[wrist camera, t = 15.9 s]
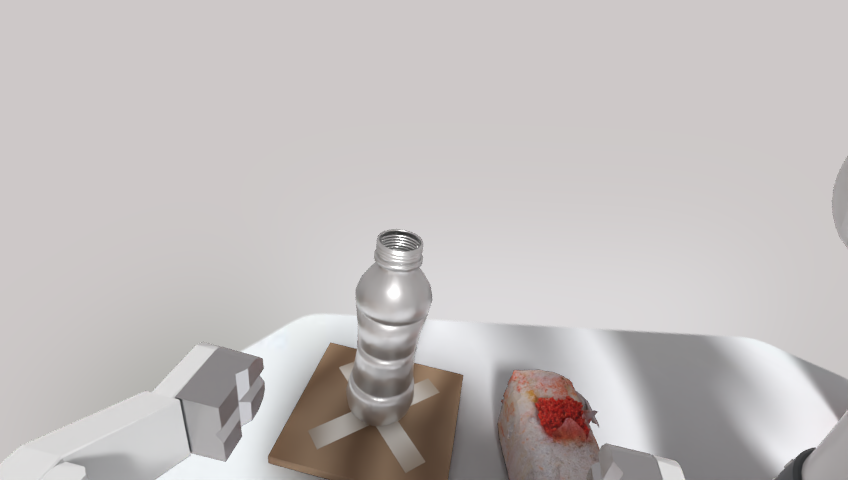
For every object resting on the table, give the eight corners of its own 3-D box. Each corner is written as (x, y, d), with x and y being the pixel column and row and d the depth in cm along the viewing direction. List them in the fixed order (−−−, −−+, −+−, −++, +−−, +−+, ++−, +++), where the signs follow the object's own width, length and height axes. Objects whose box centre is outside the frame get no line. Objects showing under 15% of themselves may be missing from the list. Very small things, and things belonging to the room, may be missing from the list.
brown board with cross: (461, 381, 51) (463, 374, 50) (442, 510, 38) (444, 504, 37) (330, 348, 52) (330, 342, 52) (268, 462, 39) (268, 455, 39)
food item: (485, 415, 47) (506, 348, 42) (556, 418, 48) (584, 353, 43) (515, 558, 36) (549, 488, 31) (608, 559, 37) (655, 491, 32)
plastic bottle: (353, 377, 48) (367, 215, 38) (415, 389, 48) (444, 228, 38) (337, 428, 42) (347, 253, 32) (406, 442, 42) (438, 269, 32)
